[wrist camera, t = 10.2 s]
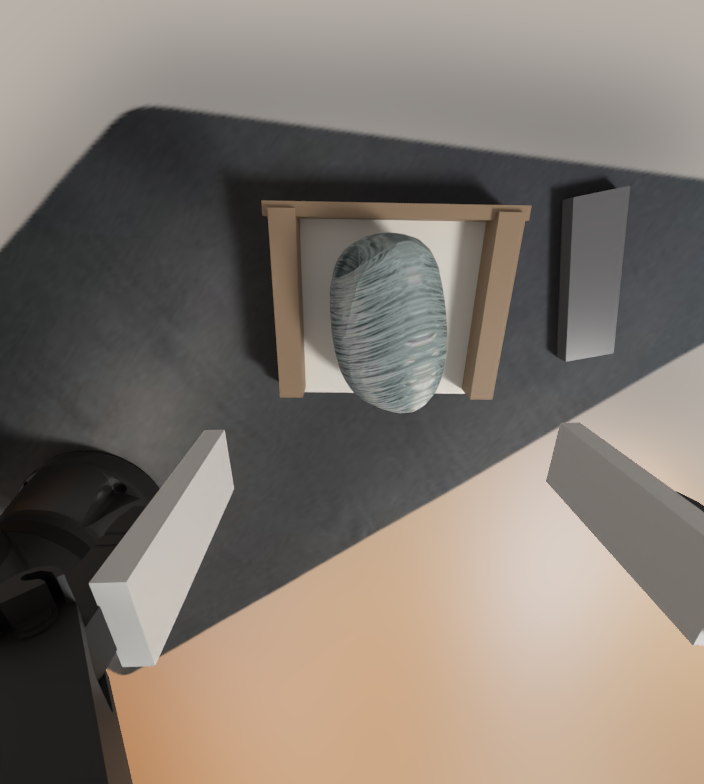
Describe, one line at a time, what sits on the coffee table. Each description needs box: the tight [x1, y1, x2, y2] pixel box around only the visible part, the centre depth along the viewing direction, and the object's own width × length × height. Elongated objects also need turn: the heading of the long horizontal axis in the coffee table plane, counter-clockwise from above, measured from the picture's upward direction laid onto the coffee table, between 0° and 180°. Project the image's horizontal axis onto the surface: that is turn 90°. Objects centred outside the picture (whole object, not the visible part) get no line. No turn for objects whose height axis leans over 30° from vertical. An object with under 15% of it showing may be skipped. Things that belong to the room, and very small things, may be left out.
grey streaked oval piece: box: [330, 232, 447, 413], centre depth 27 cm, size 14×10×10 cm
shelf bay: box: [261, 200, 531, 399], centre depth 30 cm, size 20×16×4 cm
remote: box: [557, 186, 630, 362], centre depth 31 cm, size 4×14×2 cm, turn 11°
